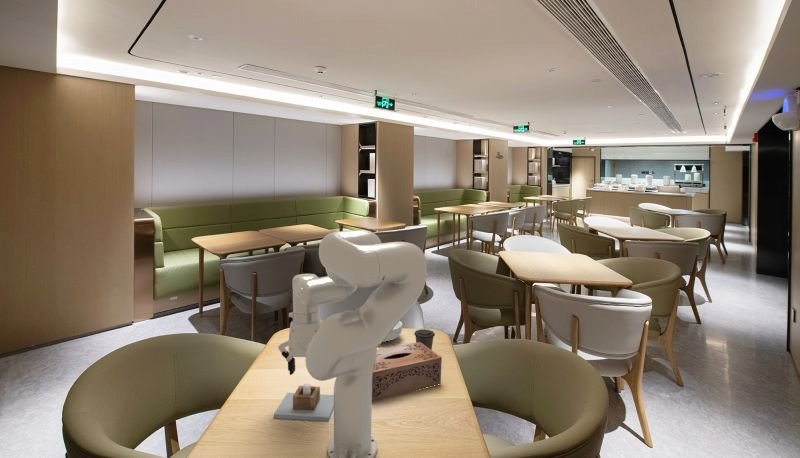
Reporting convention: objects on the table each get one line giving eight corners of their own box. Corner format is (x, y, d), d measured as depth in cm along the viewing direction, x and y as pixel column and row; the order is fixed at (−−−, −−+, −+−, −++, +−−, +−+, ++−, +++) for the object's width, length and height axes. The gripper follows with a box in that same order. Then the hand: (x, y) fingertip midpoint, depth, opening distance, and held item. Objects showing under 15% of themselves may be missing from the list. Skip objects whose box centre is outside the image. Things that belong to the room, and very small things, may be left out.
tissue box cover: (419, 367, 153) (420, 342, 152) (440, 385, 141) (441, 357, 139) (354, 382, 142) (354, 354, 140) (370, 403, 129) (371, 372, 128)
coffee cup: (433, 360, 159) (434, 335, 157) (412, 358, 160) (413, 334, 159) (434, 352, 167) (435, 328, 165) (414, 350, 168) (415, 326, 167)
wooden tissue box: (314, 410, 121) (314, 397, 121) (292, 409, 122) (292, 396, 121) (319, 398, 128) (319, 386, 127) (299, 397, 128) (299, 385, 128)
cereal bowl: (386, 329, 191) (386, 314, 190) (409, 340, 178) (410, 324, 177) (355, 337, 180) (355, 322, 179) (378, 350, 167) (378, 333, 166)
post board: (328, 421, 118) (328, 397, 117) (273, 418, 119) (273, 394, 118) (337, 398, 130) (337, 377, 129) (287, 396, 131) (287, 374, 130)
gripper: (273, 320, 118) (275, 378, 119) (333, 320, 117) (334, 379, 118) (282, 312, 125) (284, 367, 127) (338, 313, 124) (340, 368, 126)
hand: (308, 373), depth 122 cm, fingers open, 9 cm apart
